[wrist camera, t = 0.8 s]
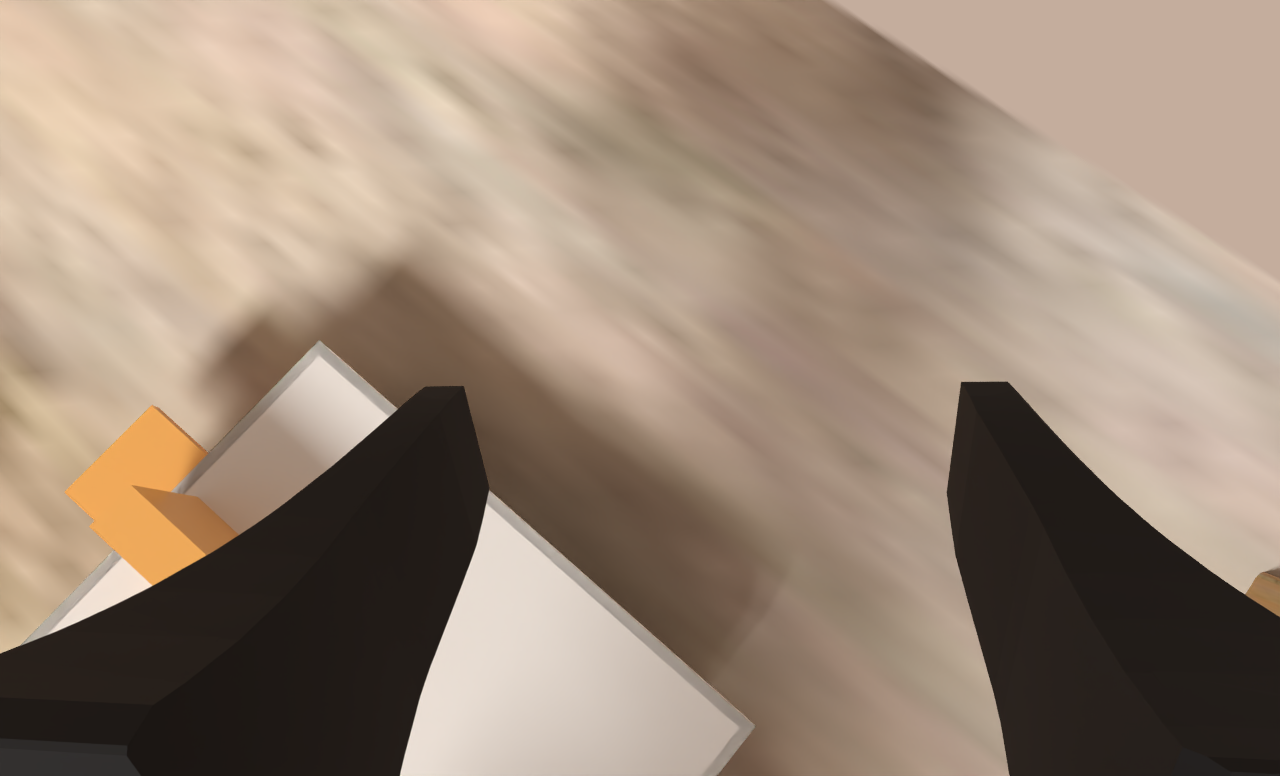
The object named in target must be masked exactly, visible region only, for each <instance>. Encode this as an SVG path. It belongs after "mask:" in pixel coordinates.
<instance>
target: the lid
mask: <svg viewBox="0 0 1280 776" xmlns="http://www.w3.org/2000/svg"><path fill="white" fill-rule="evenodd" d="M396 410H398V409H397V408H396V407H395V406H394V405H393V404H392V403H391V402H390V401H388V400H387V399H386V398H385V397H384V396H383V395H382V394H381V393H379V392H378V391H377V390H376V389H375V388H374V387H373V386H371V385H370V384H369V383H368V382H367V381H366V380H365V379H364V378H362V377H361V376H360V375H359V374H358V373H357V372H356V371H354V370H353V369H352V368H351V367H350V366H349V365H348V364H347V363H345V362H344V361H343V360H342V359H341V358H340V357H339V356H338V355H336V354H335V353H334V352H333V351H332V350H331V349H329V348H328V347H327V346H326V345H325V344H323V343H322V342H321V341H320V340H319V341H318V342H317V343H316V344H315V345H314V346H313V347H312V348H311V349H310V350H309V351H308V352H307V353H306V354H305V355H304V356H303V357H302V358H301V359H300V360H299V361H298V362H297V363H296V364H295V365H294V366H293V368H292V369H291V370H290V371H289V372H288V373H287V374H286V375H285V376H284V377H283V378H282V379H281V380H280V381H279V382H278V383H277V384H276V385H275V386H274V387H273V388H272V389H271V390H270V391H269V392H268V393H267V394H266V395H265V396H264V397H263V398H262V399H261V400H260V401H259V402H258V403H257V404H256V405H255V406H254V407H253V408H252V409H251V410H250V411H249V412H248V413H247V414H246V416H245V417H244V418H243V419H242V420H241V421H240V422H239V423H238V424H237V425H236V426H235V427H234V428H233V429H232V430H231V431H230V432H229V433H228V434H227V435H226V436H225V437H224V438H223V439H222V440H221V441H220V442H219V443H218V444H217V445H216V446H215V447H214V448H213V449H212V450H211V451H210V452H209V453H208V452H207V451H206V450H205V449H203V448H202V447H201V446H200V445H199V444H198V443H197V442H196V441H195V440H194V439H193V438H191V437H190V436H189V435H188V434H187V433H186V432H185V431H184V430H183V429H182V428H180V427H179V426H178V425H177V424H176V423H175V422H174V421H173V420H172V419H171V418H169V417H168V416H167V415H166V414H165V413H164V412H163V411H162V410H161V409H160V408H158V407H155V406H153V405H152V406H151V407H149V408H148V409H147V410H146V411H145V412H144V413H143V414H142V415H141V416H140V417H139V418H138V419H137V420H136V421H135V422H134V423H133V424H132V425H131V426H130V427H129V428H128V429H127V430H126V431H125V432H124V433H123V434H122V435H121V436H120V437H119V438H118V439H117V440H116V441H115V442H114V443H113V444H112V445H111V446H110V447H109V448H108V449H107V450H106V451H105V452H104V453H103V454H102V455H101V456H100V457H99V458H98V459H97V460H96V461H95V462H94V463H93V464H92V465H91V466H90V467H89V468H88V469H87V470H86V471H85V472H84V473H83V474H82V475H81V476H80V477H79V478H78V479H77V480H76V481H75V482H74V483H73V484H72V485H71V486H70V487H69V488H68V489H67V490H66V491H65V493H66V494H67V495H68V496H69V497H70V498H71V499H72V500H73V501H74V502H75V503H76V504H77V505H78V506H80V507H81V508H82V509H83V510H84V511H85V512H86V513H87V514H88V515H89V516H90V517H91V518H92V519H93V520H95V521H94V522H93V523H92V524H91V525H90V526H89V527H90V528H91V529H92V530H93V531H95V532H96V533H97V534H98V535H99V536H100V537H101V538H102V539H103V540H104V541H105V542H106V543H107V544H108V545H109V546H111V547H112V548H113V549H114V550H113V551H112V552H111V553H110V554H109V555H108V556H107V557H106V559H105V560H104V561H103V562H102V563H101V564H100V565H99V566H98V567H97V568H96V569H95V570H94V571H93V572H92V573H91V574H90V575H89V576H88V577H87V578H86V579H85V580H84V581H83V582H82V583H81V584H80V585H79V586H78V587H77V588H76V589H75V590H74V591H73V592H72V593H71V594H70V595H69V596H68V597H67V598H66V599H65V600H64V601H63V602H62V603H61V604H60V605H59V607H58V608H57V609H56V610H55V611H54V612H53V613H52V614H51V615H50V616H49V617H48V618H47V619H46V620H45V621H44V622H43V623H42V624H41V625H40V626H39V627H38V628H37V629H36V630H35V631H34V632H33V633H32V634H31V635H30V636H29V637H28V638H27V639H26V640H25V641H24V642H23V643H22V644H21V645H23V644H26V643H28V642H31V641H33V640H36V639H38V638H41V637H43V636H46V635H48V634H51V633H53V632H56V631H58V630H61V629H63V628H65V627H67V626H70V625H72V624H74V623H77V622H79V621H81V620H83V619H85V618H88V617H90V616H92V615H94V614H96V613H98V612H100V611H103V610H105V609H107V608H109V607H111V606H113V605H115V604H117V603H119V602H121V601H123V600H125V599H127V598H129V597H131V596H133V595H135V594H137V593H139V592H142V591H143V590H145V589H147V588H149V587H151V586H153V585H155V584H157V583H158V582H160V581H162V580H164V579H165V578H167V577H169V576H171V575H173V574H174V573H176V572H178V571H180V570H181V569H183V568H185V567H187V566H188V565H190V564H192V563H194V562H196V561H197V560H199V559H201V558H203V557H204V556H206V555H208V554H210V553H211V552H213V551H215V550H216V549H218V548H219V547H221V546H223V545H224V544H226V543H227V542H229V541H230V540H232V539H233V538H235V537H237V536H238V535H240V534H241V533H243V532H244V531H246V530H247V529H249V528H250V527H252V526H253V525H255V524H256V523H258V522H259V521H261V520H262V519H263V518H265V517H266V516H268V515H269V514H271V513H272V512H273V511H275V510H276V509H277V508H279V507H280V506H282V505H283V504H284V503H285V502H287V501H288V500H289V499H291V498H292V497H293V496H294V495H296V494H297V493H298V492H300V491H301V490H302V489H303V488H305V487H306V486H307V485H308V484H310V483H311V482H312V481H314V480H315V479H316V478H317V477H319V476H320V475H321V474H323V473H324V472H325V471H326V470H328V469H329V468H330V467H331V466H333V465H334V464H335V463H336V462H337V461H339V460H340V459H341V458H342V457H343V456H344V455H346V454H347V453H348V452H349V451H350V450H351V449H353V448H354V447H355V446H356V445H357V444H358V443H360V442H361V441H362V440H363V439H364V438H365V437H367V436H368V435H369V434H370V433H371V432H372V431H374V430H375V429H376V428H377V427H378V426H379V425H380V424H382V423H383V422H384V421H385V420H386V419H387V418H388V417H390V416H391V415H392V414H393V413H394V412H395V411H396ZM21 645H20V646H21ZM755 727H756V726H755V725H754V724H753V723H752V722H751V721H750V720H749V719H748V718H747V717H746V716H745V715H744V714H742V713H741V712H740V711H739V710H738V709H737V708H736V707H734V706H733V705H732V704H731V703H730V702H729V701H728V700H727V699H725V698H724V697H723V696H722V695H721V694H720V693H719V692H718V691H716V690H715V689H714V688H713V687H712V686H711V685H710V684H708V683H707V682H706V681H705V680H704V679H703V678H702V677H701V676H699V675H698V674H697V673H696V672H695V671H694V670H693V669H692V668H690V667H689V666H688V665H687V664H686V663H685V662H684V661H682V660H681V659H680V658H679V657H678V656H677V655H676V654H675V653H673V652H672V651H671V650H670V649H669V648H668V647H667V646H666V645H664V644H663V643H662V642H661V641H660V640H659V639H658V638H656V637H655V636H654V635H653V634H652V633H651V632H650V631H649V630H647V629H646V628H645V627H644V626H643V625H642V624H641V623H639V622H638V621H637V620H636V619H635V618H634V617H633V616H632V615H630V614H629V613H628V612H627V611H626V610H625V609H624V608H623V607H621V606H620V605H619V604H618V603H617V602H616V601H615V600H613V599H612V598H611V597H610V596H609V595H608V594H607V593H606V592H604V591H603V590H602V589H601V588H600V587H599V586H598V585H597V584H595V583H594V582H593V581H592V580H591V579H590V578H589V577H587V576H586V575H585V574H584V573H583V572H582V571H581V570H580V569H578V568H577V567H576V566H575V565H574V564H573V563H572V562H571V561H569V560H568V559H567V558H566V557H565V556H564V555H563V554H561V553H560V552H559V551H558V550H557V549H556V548H555V547H554V546H552V545H551V544H550V543H549V542H548V541H547V540H546V539H544V538H543V537H542V536H541V535H540V534H539V533H538V532H537V531H535V530H534V529H533V528H532V527H531V526H530V525H529V524H528V523H526V522H525V521H524V520H523V519H522V518H521V517H520V516H518V515H517V514H516V513H515V512H514V511H513V510H512V509H511V508H509V507H508V506H507V505H506V504H505V503H504V502H503V501H502V500H500V499H499V498H498V497H497V496H496V495H495V494H494V493H492V492H491V491H490V490H489V493H488V498H487V503H486V507H485V512H484V517H483V521H482V525H481V529H480V534H479V538H478V542H477V546H476V549H475V551H474V554H473V557H472V560H471V562H470V565H469V568H468V570H467V573H466V576H465V578H464V581H463V584H462V586H461V589H460V592H459V594H458V597H457V599H456V602H455V605H454V607H453V610H452V612H451V615H450V617H449V620H448V623H447V625H446V628H445V630H444V633H443V636H442V638H441V641H440V643H439V646H438V649H437V651H436V654H435V656H434V659H433V661H432V664H431V667H430V669H429V672H428V675H427V678H426V681H425V684H424V687H423V690H422V693H421V696H420V700H419V703H418V707H417V711H416V715H415V718H414V722H413V726H412V730H411V733H410V737H409V741H408V745H407V749H406V752H405V756H404V760H403V764H402V769H401V773H400V776H717V775H718V774H719V773H720V771H721V770H722V769H723V768H724V766H725V765H726V764H727V762H728V761H729V760H730V759H731V757H732V756H733V755H734V754H735V752H736V751H737V750H738V748H739V747H740V746H741V745H742V743H743V742H744V741H745V739H746V738H747V737H748V736H749V734H750V733H751V732H752V731H753V729H754V728H755Z"/></svg>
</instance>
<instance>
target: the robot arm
mask: <svg viewBox="0 0 1280 776" xmlns="http://www.w3.org/2000/svg"><path fill="white" fill-rule="evenodd" d="M488 493H489V484H488V480H487V476H486V472H485V469H484V465H483V461H482V457H481V453H480V449H479V445H478V441H477V437H476V433H475V429H474V425H473V421H472V417H471V413H470V410H469V406H468V402H467V398H466V394H465V390H464V386H440V387H424V388H423V389H422V390H420V391H419V392H418V393H416V394H415V395H414V396H413V397H412V398H410V399H409V400H408V401H407V402H406V403H404V404H403V405H402V406H401V407H400V408H399V409H398V410H396V411H395V412H394V413H393V414H392V415H391V416H390V417H388V418H387V419H386V420H385V421H384V422H383V423H382V424H380V425H379V426H378V427H377V428H376V429H375V430H374V431H372V432H371V433H370V434H369V435H368V436H367V437H365V438H364V439H363V440H362V441H361V442H360V443H358V444H357V445H356V446H355V447H354V448H353V449H351V450H350V451H349V452H348V453H347V454H346V455H344V456H343V457H342V458H341V459H340V460H339V461H337V462H336V463H335V464H334V465H333V466H331V467H330V468H329V469H328V470H326V471H325V472H324V473H323V474H321V475H320V476H319V477H317V478H316V479H315V480H314V481H312V482H311V483H310V484H308V485H307V486H306V487H305V488H303V489H302V490H301V491H300V492H298V493H297V494H296V495H294V496H293V497H292V498H291V499H289V500H288V501H287V502H285V503H284V504H283V505H282V506H280V507H279V508H277V509H276V510H275V511H273V512H272V513H271V514H269V515H268V516H266V517H265V518H263V519H262V520H261V521H259V522H258V523H256V524H255V525H253V526H252V527H250V528H249V529H247V530H246V531H244V532H243V533H241V534H240V535H238V536H237V537H235V538H233V539H232V540H230V541H229V542H227V543H226V544H224V545H223V546H221V547H219V548H218V549H216V550H215V551H213V552H211V553H210V554H208V555H206V556H204V557H203V558H201V559H199V560H197V561H196V562H194V563H192V564H190V565H188V566H187V567H185V568H183V569H181V570H180V571H178V572H176V573H174V574H173V575H171V576H169V577H167V578H165V579H164V580H162V581H160V582H158V583H157V584H155V585H153V586H151V587H149V588H147V589H145V590H143V591H142V592H139V593H137V594H135V595H133V596H131V597H129V598H127V599H125V600H123V601H121V602H119V603H117V604H115V605H113V606H111V607H109V608H107V609H105V610H103V611H100V612H98V613H96V614H94V615H92V616H90V617H88V618H85V619H83V620H81V621H79V622H77V623H74V624H72V625H70V626H67V627H65V628H63V629H61V630H58V631H56V632H53V633H51V634H48V635H46V636H43V637H41V638H38V639H36V640H33V641H31V642H28V643H26V644H23V645H21V646H18V647H16V648H13V649H11V650H8V651H6V652H3V653H1V654H0V776H400V773H401V769H402V764H403V760H404V756H405V752H406V749H407V745H408V741H409V737H410V733H411V730H412V726H413V722H414V718H415V715H416V711H417V707H418V703H419V700H420V696H421V693H422V690H423V687H424V684H425V681H426V678H427V675H428V672H429V669H430V667H431V664H432V661H433V659H434V656H435V654H436V651H437V649H438V646H439V643H440V641H441V638H442V636H443V633H444V630H445V628H446V625H447V623H448V620H449V617H450V615H451V612H452V610H453V607H454V605H455V602H456V599H457V597H458V594H459V592H460V589H461V586H462V584H463V581H464V578H465V576H466V573H467V570H468V568H469V565H470V562H471V560H472V557H473V554H474V551H475V549H476V546H477V542H478V538H479V534H480V529H481V525H482V521H483V517H484V512H485V507H486V503H487V498H488ZM947 498H948V505H949V513H950V520H951V528H952V535H953V541H954V548H955V555H956V559H957V562H958V566H959V570H960V574H961V577H962V581H963V585H964V588H965V592H966V596H967V599H968V603H969V606H970V610H971V614H972V617H973V621H974V624H975V628H976V631H977V635H978V638H979V642H980V646H981V649H982V653H983V656H984V660H985V663H986V667H987V671H988V674H989V678H990V681H991V685H992V688H993V692H994V696H995V700H996V705H997V709H998V713H999V718H1000V722H1001V727H1002V733H1003V739H1004V745H1005V751H1006V757H1007V763H1008V769H1009V775H1010V776H1280V617H1279V616H1278V615H1276V614H1274V613H1273V612H1271V611H1270V610H1268V609H1267V608H1265V607H1263V606H1262V605H1260V604H1259V603H1257V602H1256V601H1254V600H1253V599H1251V598H1249V597H1248V596H1246V595H1245V594H1243V593H1242V592H1240V591H1238V590H1237V589H1236V588H1234V587H1233V586H1231V585H1230V584H1228V583H1227V582H1225V581H1224V580H1222V579H1221V578H1220V577H1218V576H1217V575H1215V574H1214V573H1212V572H1211V571H1210V570H1208V569H1207V568H1206V567H1204V566H1203V565H1202V564H1200V563H1199V562H1198V561H1196V560H1195V559H1194V558H1192V557H1191V556H1190V555H1188V554H1187V553H1186V552H1184V551H1183V550H1182V549H1180V548H1179V547H1178V546H1176V545H1175V544H1174V543H1172V542H1171V541H1170V540H1168V539H1167V538H1166V537H1165V536H1163V535H1162V534H1161V533H1160V532H1158V531H1157V530H1156V529H1155V528H1153V527H1152V526H1151V525H1150V524H1149V523H1147V522H1146V521H1145V520H1144V519H1143V518H1142V517H1141V516H1139V515H1138V514H1137V513H1136V512H1135V511H1134V510H1133V509H1131V508H1130V507H1129V506H1128V505H1127V504H1126V503H1125V502H1123V501H1122V500H1121V499H1120V498H1119V497H1118V496H1117V495H1116V494H1115V493H1114V492H1113V491H1111V490H1110V489H1109V488H1108V487H1107V486H1106V485H1105V484H1104V483H1103V482H1102V481H1101V480H1100V479H1099V478H1098V477H1097V476H1096V475H1095V474H1094V473H1093V472H1092V471H1091V470H1090V469H1089V468H1088V467H1087V466H1086V465H1085V464H1084V463H1083V462H1082V461H1081V460H1080V459H1079V458H1078V457H1077V456H1076V455H1075V454H1074V453H1073V452H1072V451H1071V450H1070V449H1069V448H1068V447H1067V446H1066V445H1065V444H1064V443H1063V441H1062V440H1061V439H1060V438H1059V437H1058V436H1057V435H1056V434H1055V433H1054V432H1053V431H1052V430H1051V429H1050V427H1049V426H1048V425H1047V424H1046V423H1045V422H1044V421H1043V420H1042V419H1041V418H1040V416H1039V415H1038V414H1037V413H1036V412H1035V411H1034V410H1033V409H1032V408H1031V406H1030V405H1029V404H1028V403H1027V402H1026V401H1025V400H1024V399H1023V398H1022V396H1021V395H1020V394H1019V393H1018V392H1017V391H1016V390H1015V389H1014V388H1013V387H1012V386H1011V385H1010V384H1009V383H1008V382H961V388H960V396H959V403H958V411H957V419H956V426H955V434H954V442H953V449H952V457H951V464H950V472H949V480H948V487H947Z"/></svg>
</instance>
